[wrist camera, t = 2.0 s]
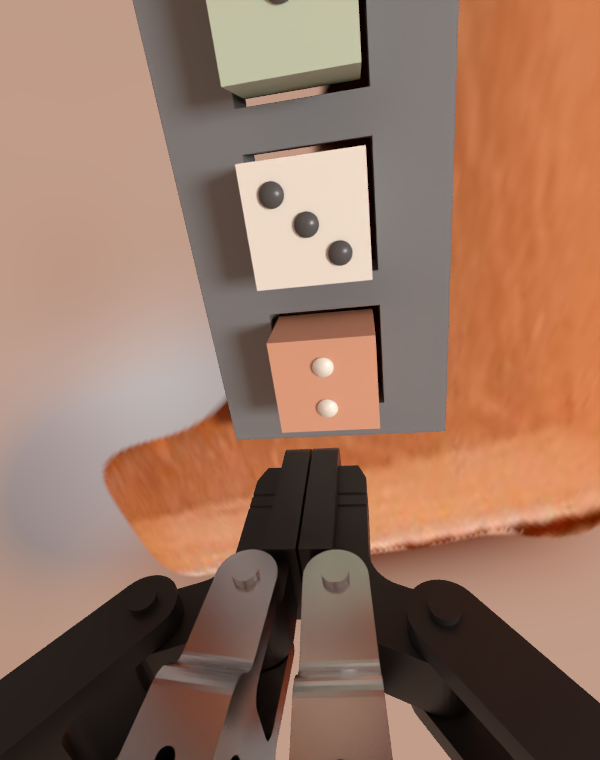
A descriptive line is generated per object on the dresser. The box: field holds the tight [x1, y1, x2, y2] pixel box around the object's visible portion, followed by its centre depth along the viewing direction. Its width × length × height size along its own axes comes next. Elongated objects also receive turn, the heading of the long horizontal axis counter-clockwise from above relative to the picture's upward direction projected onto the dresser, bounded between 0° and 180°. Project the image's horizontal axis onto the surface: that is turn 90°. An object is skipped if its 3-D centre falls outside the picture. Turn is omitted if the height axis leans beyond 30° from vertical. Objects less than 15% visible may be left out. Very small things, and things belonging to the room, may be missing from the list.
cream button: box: [235, 145, 373, 291], centre depth 15 cm, size 4×4×3 cm
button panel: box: [133, 0, 459, 440], centre depth 17 cm, size 20×10×2 cm, turn 7°
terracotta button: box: [267, 309, 380, 433], centre depth 18 cm, size 4×4×3 cm
